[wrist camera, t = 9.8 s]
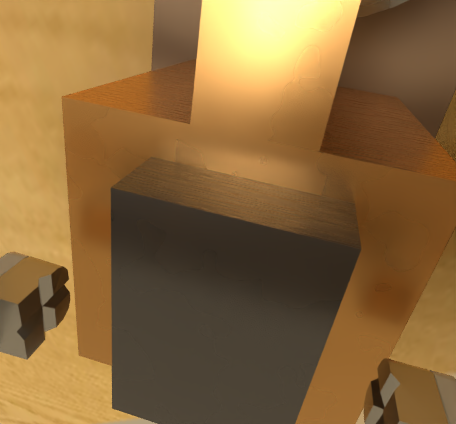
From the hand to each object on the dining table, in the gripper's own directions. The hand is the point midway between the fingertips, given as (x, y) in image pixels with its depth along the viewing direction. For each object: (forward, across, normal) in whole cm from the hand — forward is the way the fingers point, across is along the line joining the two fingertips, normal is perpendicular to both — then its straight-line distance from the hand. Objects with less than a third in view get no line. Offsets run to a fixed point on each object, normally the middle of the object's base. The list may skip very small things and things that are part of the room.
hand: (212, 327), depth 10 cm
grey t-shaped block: (+11, 0, 0) cm, 11 cm away
